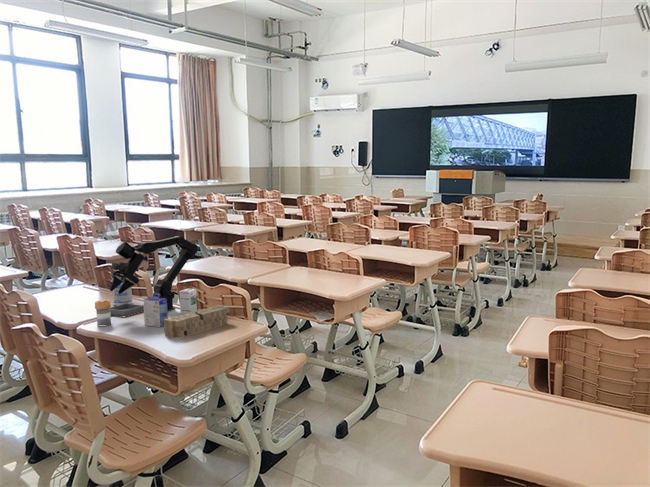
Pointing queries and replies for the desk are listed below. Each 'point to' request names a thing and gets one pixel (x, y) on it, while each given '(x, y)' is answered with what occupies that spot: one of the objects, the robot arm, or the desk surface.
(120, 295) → the supplement tub
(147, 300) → the ink cartridge box
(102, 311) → the cylinder
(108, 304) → the snap cap
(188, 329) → the block tower
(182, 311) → the syrup box
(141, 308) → the lid tray
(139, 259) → the robot arm
